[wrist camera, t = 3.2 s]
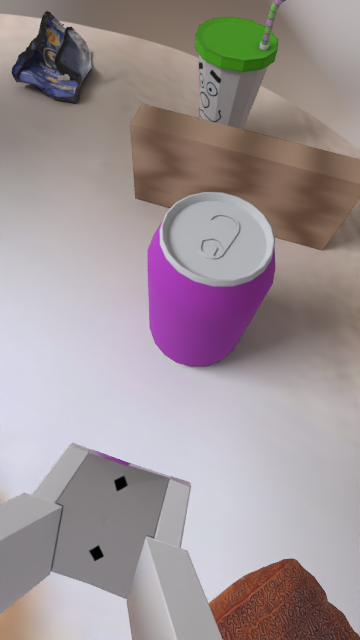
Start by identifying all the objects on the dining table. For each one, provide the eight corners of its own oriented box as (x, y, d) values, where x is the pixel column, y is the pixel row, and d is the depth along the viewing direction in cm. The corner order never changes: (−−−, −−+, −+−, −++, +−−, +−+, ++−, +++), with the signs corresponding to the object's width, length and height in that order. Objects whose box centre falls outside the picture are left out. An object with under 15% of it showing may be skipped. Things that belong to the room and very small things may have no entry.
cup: (173, 131, 40) (183, -48, 26) (225, 114, 42) (258, -59, 28) (209, 171, 37) (241, -6, 24) (263, 150, 39) (319, -22, 26)
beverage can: (219, 386, 26) (264, 319, 15) (133, 347, 27) (119, 258, 16) (249, 310, 29) (304, 211, 19) (172, 277, 30) (182, 165, 20)
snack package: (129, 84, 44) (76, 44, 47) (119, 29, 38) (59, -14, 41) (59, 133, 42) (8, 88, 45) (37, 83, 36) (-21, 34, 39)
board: (135, 198, 34) (130, 123, 27) (144, 179, 36) (142, 103, 28) (322, 250, 33) (368, 186, 26) (325, 228, 34) (369, 162, 27)
